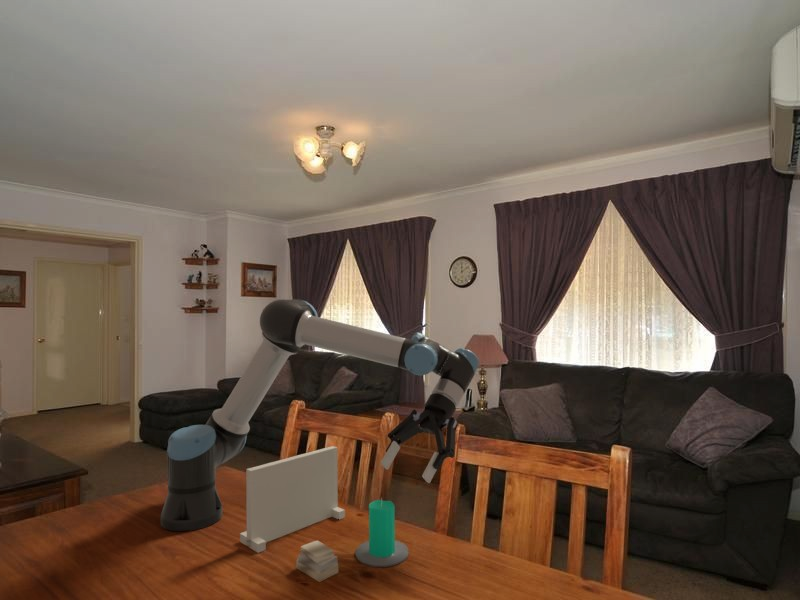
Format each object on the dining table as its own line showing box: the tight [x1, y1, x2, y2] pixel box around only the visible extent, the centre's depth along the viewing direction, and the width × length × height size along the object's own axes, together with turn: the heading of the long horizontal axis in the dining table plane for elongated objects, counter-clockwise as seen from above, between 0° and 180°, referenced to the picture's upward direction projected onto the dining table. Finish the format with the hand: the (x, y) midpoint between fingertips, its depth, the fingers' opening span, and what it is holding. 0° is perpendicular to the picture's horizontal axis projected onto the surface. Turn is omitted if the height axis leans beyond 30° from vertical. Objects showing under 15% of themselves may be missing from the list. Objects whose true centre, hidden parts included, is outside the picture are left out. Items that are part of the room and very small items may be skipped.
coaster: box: [355, 539, 409, 568], centre depth 116 cm, size 12×12×1 cm
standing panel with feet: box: [239, 445, 346, 554], centre depth 129 cm, size 8×26×18 cm, turn 137°
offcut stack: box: [295, 540, 339, 583], centre depth 109 cm, size 8×5×4 cm, turn 47°
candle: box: [368, 497, 396, 557], centre depth 116 cm, size 6×6×12 cm
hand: (403, 473), depth 121 cm, fingers open, 13 cm apart
